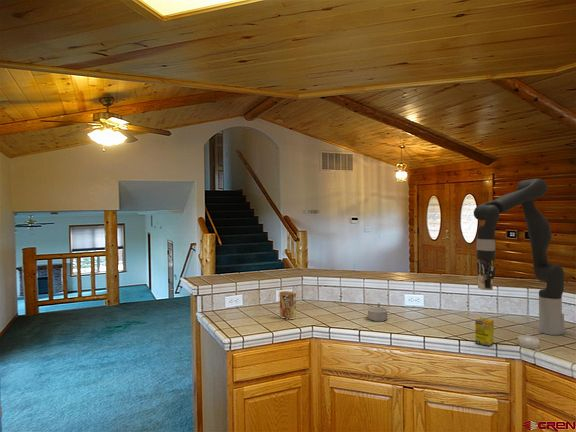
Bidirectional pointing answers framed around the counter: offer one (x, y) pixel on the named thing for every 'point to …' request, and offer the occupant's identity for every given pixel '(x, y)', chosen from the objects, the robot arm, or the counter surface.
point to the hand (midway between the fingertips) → (485, 286)
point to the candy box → (288, 304)
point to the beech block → (483, 283)
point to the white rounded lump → (528, 341)
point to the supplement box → (484, 331)
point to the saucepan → (377, 313)
